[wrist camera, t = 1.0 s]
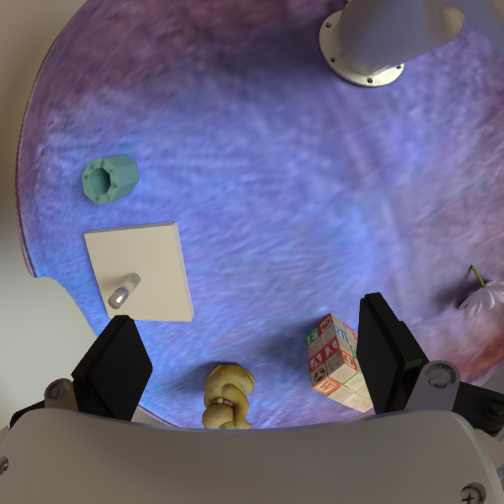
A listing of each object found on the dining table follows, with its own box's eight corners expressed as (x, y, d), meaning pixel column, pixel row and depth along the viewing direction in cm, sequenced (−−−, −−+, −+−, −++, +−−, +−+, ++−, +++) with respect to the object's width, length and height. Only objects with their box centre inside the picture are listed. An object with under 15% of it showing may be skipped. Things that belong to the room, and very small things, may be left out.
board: (90, 230, 41) (56, 251, 32) (176, 221, 40) (152, 244, 31) (114, 312, 47) (90, 343, 38) (194, 314, 46) (179, 351, 37)
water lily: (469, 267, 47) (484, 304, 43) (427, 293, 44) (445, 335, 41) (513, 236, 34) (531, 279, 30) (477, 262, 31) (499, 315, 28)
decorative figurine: (225, 392, 53) (215, 452, 39) (196, 370, 51) (178, 431, 37) (261, 374, 50) (258, 439, 36) (231, 349, 48) (219, 416, 34)
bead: (102, 159, 37) (79, 163, 31) (135, 151, 36) (114, 154, 31) (107, 196, 39) (86, 206, 33) (140, 191, 38) (121, 200, 33)
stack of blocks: (398, 361, 48) (418, 406, 37) (375, 380, 50) (390, 425, 39) (329, 312, 44) (344, 364, 33) (303, 335, 46) (311, 389, 35)
